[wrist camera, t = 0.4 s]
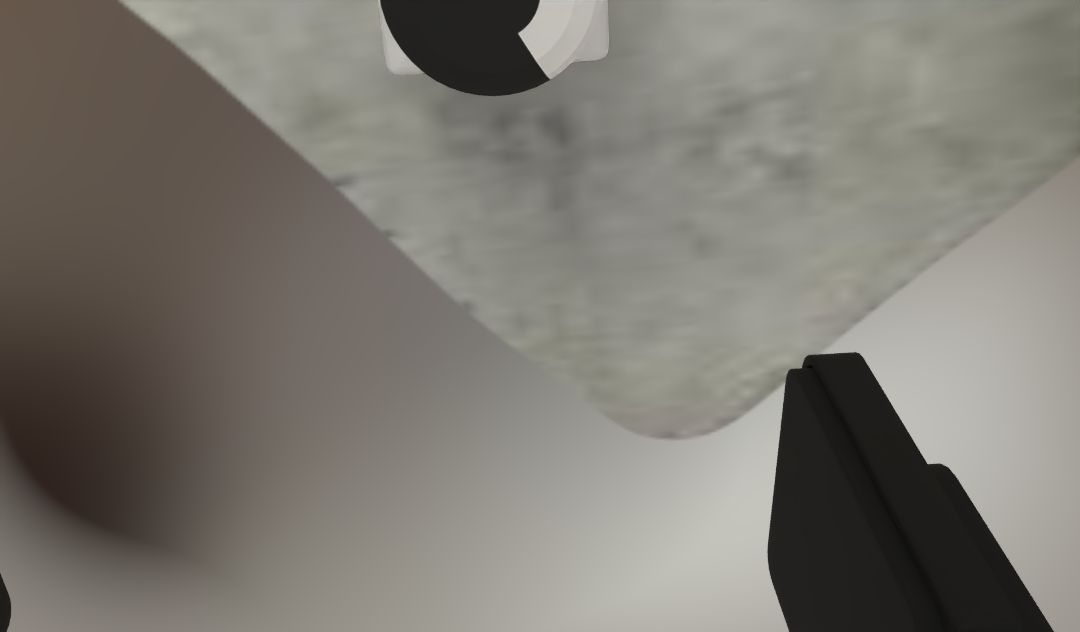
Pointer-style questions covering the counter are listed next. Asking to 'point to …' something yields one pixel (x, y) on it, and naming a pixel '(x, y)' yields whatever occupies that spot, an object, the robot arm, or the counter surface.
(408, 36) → the medicine bottle
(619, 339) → the counter surface
